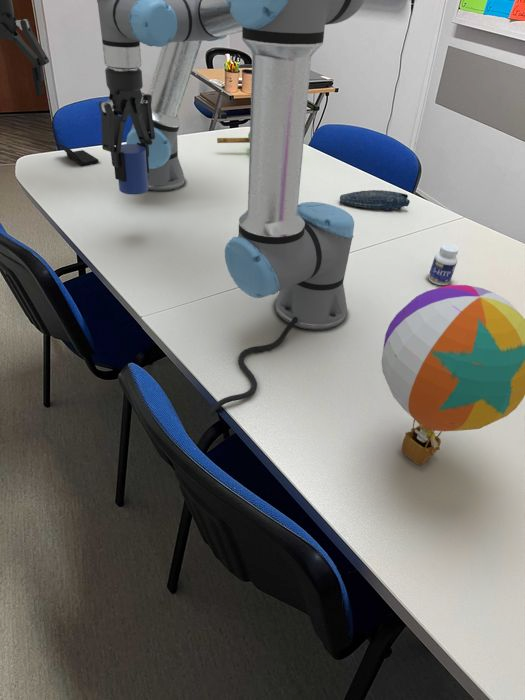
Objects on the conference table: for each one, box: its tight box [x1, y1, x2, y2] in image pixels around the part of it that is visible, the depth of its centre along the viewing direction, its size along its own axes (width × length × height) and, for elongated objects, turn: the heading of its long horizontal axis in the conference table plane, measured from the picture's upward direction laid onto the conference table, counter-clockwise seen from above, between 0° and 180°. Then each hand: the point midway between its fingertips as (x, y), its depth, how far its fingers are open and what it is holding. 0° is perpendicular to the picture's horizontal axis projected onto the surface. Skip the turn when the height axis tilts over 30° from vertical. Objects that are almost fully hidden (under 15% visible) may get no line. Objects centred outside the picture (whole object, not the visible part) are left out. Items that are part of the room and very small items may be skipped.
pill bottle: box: [427, 243, 459, 286], centre depth 124 cm, size 5×5×9 cm
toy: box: [381, 284, 525, 467], centre depth 73 cm, size 20×20×30 cm
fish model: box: [339, 189, 411, 211], centre depth 158 cm, size 7×21×5 cm, turn 84°
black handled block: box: [54, 140, 100, 166], centre depth 170 cm, size 12×7×10 cm
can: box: [117, 143, 149, 196], centre depth 122 cm, size 7×7×10 cm
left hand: (13, 92), depth 133 cm, fingers open, 13 cm apart
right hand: (132, 175), depth 123 cm, fingers closed on can, 7 cm apart
